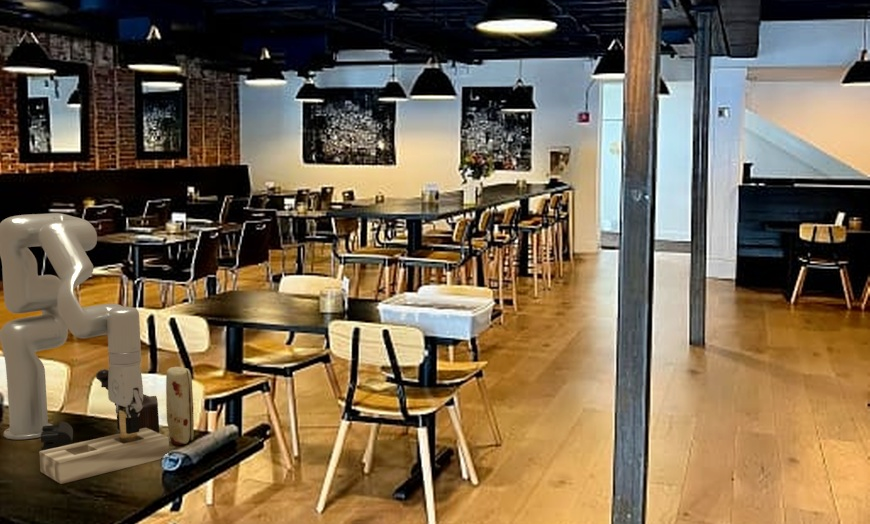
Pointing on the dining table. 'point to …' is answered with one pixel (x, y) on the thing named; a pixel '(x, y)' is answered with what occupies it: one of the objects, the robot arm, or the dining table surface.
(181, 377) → the food model
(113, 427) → the dining table surface
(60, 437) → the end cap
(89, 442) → the board
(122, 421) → the pin
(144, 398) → the manual coffee grinder
